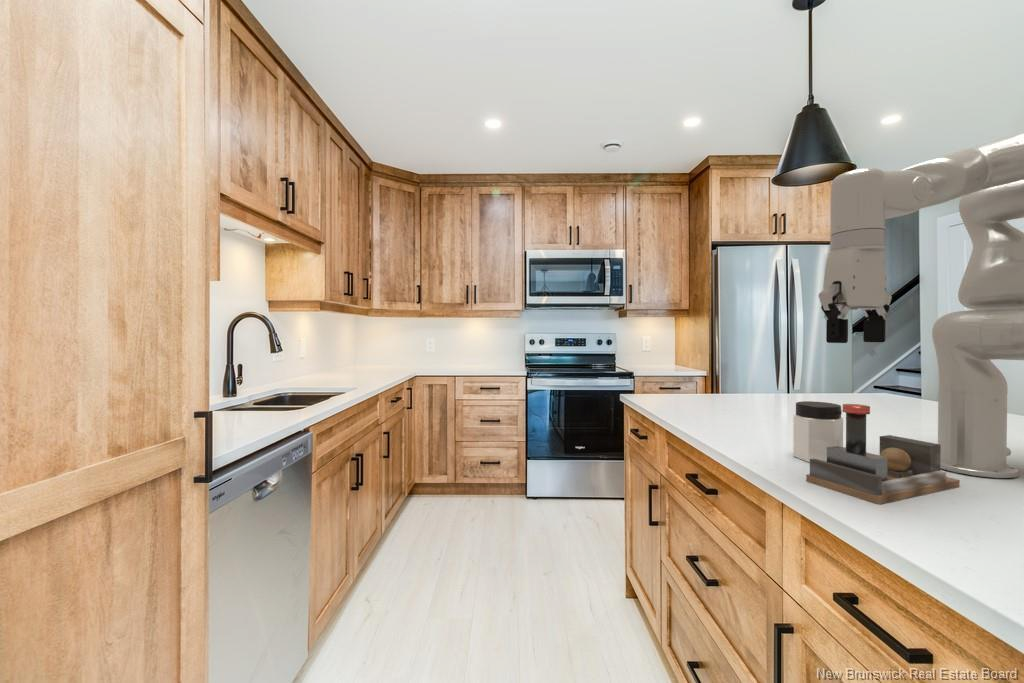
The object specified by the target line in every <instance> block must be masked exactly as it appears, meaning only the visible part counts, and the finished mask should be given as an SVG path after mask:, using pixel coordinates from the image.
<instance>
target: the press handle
mask: <svg viewBox="0 0 1024 683" xmlns="http://www.w3.org/2000/svg"><path fill="white" fill-rule="evenodd" d="M842 413H845V446H843V447H840V446H834V447H827V462H829V463H833V464H837V465H841V466H845V467H848V468H852V469H856V470H860V471H863V472H867V473H871V474H875V475H878V476H882V482H883V481H887V457H884V456H880V454H877V453H876V454H874V453H871V452H867V415H870V414H871V406H870V405H866V404H859V403H858V404H857V403H842Z"/></svg>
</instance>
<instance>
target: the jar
mask: <svg viewBox="0 0 1024 683" xmlns="http://www.w3.org/2000/svg"><path fill="white" fill-rule="evenodd" d="M842 414H843V409H842V406H841V404H837V403H832V402H825V401H813V400H812V401H811V400H809V401H807V400H806V401H804V400H803V401H797V402H795V413H794V414H793V424H792V426H793V431H792V432H793V439H792V441H793V446H792V449H793V452H792V453H793V457H795V458H796V459H799V460H802V461H805V462H807V463H810V459H818V460H822V461H826V462H827V447H834V446H840V447H844V418H843V417H842Z"/></svg>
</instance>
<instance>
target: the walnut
mask: <svg viewBox="0 0 1024 683" xmlns="http://www.w3.org/2000/svg"><path fill="white" fill-rule="evenodd" d="M879 455H880V456H884V457H887V469H888V470H892V471H896V472H903V471H905V470H907V469H908V468H909V467H910V465H911V459H910V456H909V455H908V454H907V453H906V452H905V451H903V450H901V449H899V448H893V447H892V448H887V449H885V450H883V451H882V452H881V454H880V453H879Z"/></svg>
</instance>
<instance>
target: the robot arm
mask: <svg viewBox="0 0 1024 683" xmlns="http://www.w3.org/2000/svg"><path fill="white" fill-rule="evenodd" d="M960 197H961V198H960ZM959 198H960V199H959ZM955 199H959V203H958V210H959V216H960V218H961V220H962V223H963V225H964V227H965V229H966V231H967V233H968V236H969V238H970V241H971V244H972V249H971V250H972V251H971V254H970V256H969V260H968V262H967V265H966V268H965V270H964V273H963V276H962V278H961V281H960V285H959V287H958V293H957V297H958V298H957V299H958V302H959V303H960V304H961V305H962V306H963V307H965V308H967V309H969V310H959V311H953V312H950V313H946V314H944V315H942V316H940V317H938V319H937V320H936V321H935V322H934V323H933V326H932V331H931V336H932V342H933V346H934V350H935V351H934V352H935V354H936V360H937V370H938V371H937V372H938V382H937V383H938V384H937V385H938V388H937V389H938V390H937V391H938V394H937V395H938V396H937V397H938V398H937V407H938V408H937V444H941V465H940V470H941V469H942V470H945V471H949V472H952V473H957V474H962V475H968V476H974V477H975V476H976V477H982V478H993V479H994V478H995V479H1013V478H1017V477H1019V474H1020V472H1019V471H1020V470H1019V469H1018V468H1016V467H1015V466H1013V465H1010V464H1007V457H1008V456H1011V454H1012V451H1011V450H1012V449H1010V448H1009V447H1007V442H1008V441H1007V438H1008V392H1009V390H1008V382H1007V379H1006V377H1005V376H1004V373H1002V371H1001V370H1000V369H999V368H998V366H996V365H995V363H993V361H992V360H1000V361H1001V360H1003V361H1004V360H1007V361H1024V232H1023V231H1021V230H1020V229H1018V228H1016V227H1014V226H1012V224H1010V223H1009V222H1008V221H1011V220H1018V219H1024V131H1023V132H1019V133H1015V134H1012V135H1009V136H1006V137H1003V138H1000V139H995V140H993V141H990V142H987V143H982V144H979V145H976V146H973V147H969V148H966V149H963V150H959V151H956V152H953V153H949V154H946V155H943V156H940V157H939V156H938V157H935V158H931V159H928V160H925V161H923V162H920V163H917V164H914V165H911V166H909V167H906V168H903V169H901V170H888V171H887V170H885V171H883V170H882V169H880V168H875V167H874V168H873V167H866V168H865V167H864V168H858V169H853V170H850V171H846V172H843V173H841V174H839V175H837V176H836V177H835V178H834V179H833V180H832V182H831V184H830V214H829V215H830V219H829V223H830V227H829V228H830V229H829V230H830V231H829V232H830V233H829V235H830V236H829V237H830V238H829V248H830V249H829V252H828V254H827V258H826V262H825V267H824V268H825V269H824V276H823V288H822V290H821V291H820V292H819V293H818V299H819V302H820V304H821V307H820V309H821V310H822V312H823V313H824V315H823V318H824V319H825V321H826V325H825V326H826V327H825V328H826V330H825V331H826V336H825V337H826V340H825V341H826V343H828V344H847V343H848V342H849V340H848V339H849V319H848V318H846V316H847V314H848V313H849V311H851V310H852V311H853V310H854V311H855V310H858V309H861V311H862V313H863V315H864V317H865V318H866V319H863V332H862V333H863V336H862V337H863V342H864V343H884V342H886V321H887V319H888V316H889V315H888V313H889V311H890V304H891V301H892V299H893V297H892V295H891V294H890V293H889V292H888V290H887V289H888V288H887V284H888V283H887V270H886V262H885V256H884V255H885V254H884V251H885V250H886V220H889V219H893V218H899V217H903V216H906V215H909V214H914V213H915V212H918V211H919V210H922V209H925V208H928V207H929V208H930V207H932V206H933V207H934V206H937V205H941V204H944V203H947V202H949V201H952V200H955Z"/></svg>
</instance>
